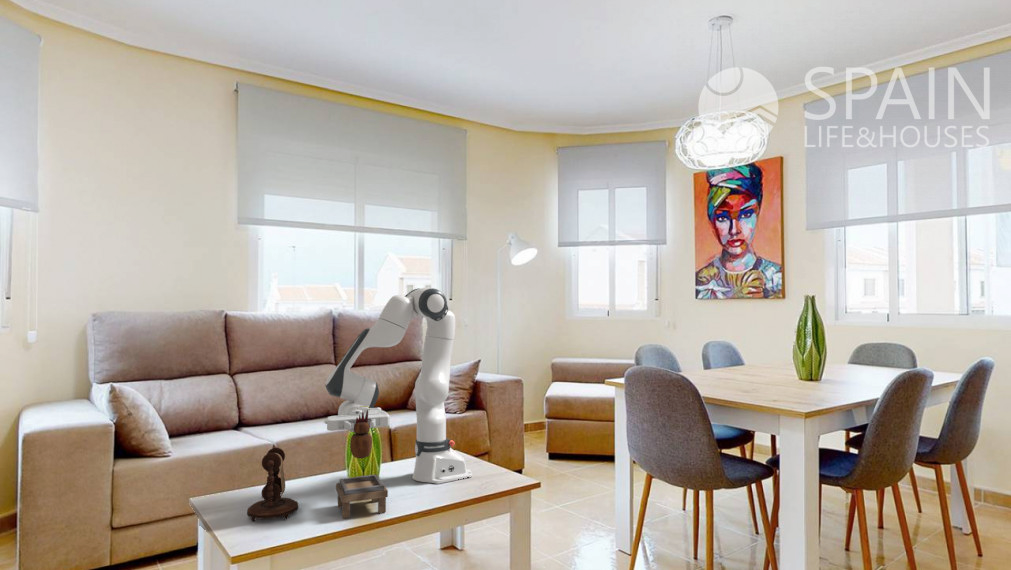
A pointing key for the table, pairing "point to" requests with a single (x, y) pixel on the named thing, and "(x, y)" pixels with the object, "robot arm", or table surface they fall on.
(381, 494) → the stool
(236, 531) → the table surface
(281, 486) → the dark brown tall figurine
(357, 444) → the wooden figurine
